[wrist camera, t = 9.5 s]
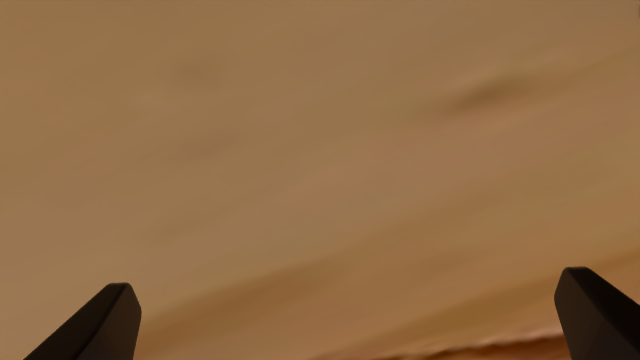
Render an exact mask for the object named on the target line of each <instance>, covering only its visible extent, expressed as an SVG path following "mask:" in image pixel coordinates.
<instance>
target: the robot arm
mask: <svg viewBox="0 0 640 360" xmlns="http://www.w3.org/2000/svg"><path fill="white" fill-rule="evenodd" d="M554 302H555V306H556V310H557V313H558V316H559V320H560V323H561V326H562V329H563V333H564V336H565V339H566V342H567V346H568V349H569V352H570V355H571V359H572V360H640V305H639V304H637V303H636V302H635V301H633V300H632V299H631V298H629V297H628V296H627V295H625V294H624V293H622V292H621V291H620V290H618V289H617V288H616V287H614V286H613V285H611V284H610V283H609V282H607V281H606V280H605V279H603V278H602V277H600V276H599V275H598V274H596V273H595V272H594V271H592V270H591V269H589V268H587V267H566V268H565V269H564V270H563V271H562V274H561V277H560V279H559V282H558V285H557V288H556V291H555V294H554ZM140 322H141V307H140V304H139V302H138V300H137V297H136V295H135V293H134V290H133V288H132V286H131V285H130V284H129V283H110V284H108V285H106V286H105V287H104V288H103V289H102V290H101V291H100V292H98V293H97V294H96V295H95V296H94V297H93V298H92V299H91V300H89V301H88V302H87V303H86V304H85V305H84V306H83V307H82V308H80V309H79V310H78V311H77V312H76V313H75V314H74V315H73V316H72V317H70V318H69V319H68V320H67V321H66V322H65V323H64V324H63V325H61V326H60V327H59V328H58V329H57V330H56V331H55V332H54V333H52V334H51V335H50V336H49V337H48V338H47V339H46V340H45V341H43V342H42V343H41V344H40V345H39V346H38V347H37V348H36V349H34V350H33V351H32V352H31V353H30V354H29V355H28V356H27V357H26V358H24V359H23V360H133V356H134V351H135V346H136V341H137V336H138V331H139V326H140Z"/></svg>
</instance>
